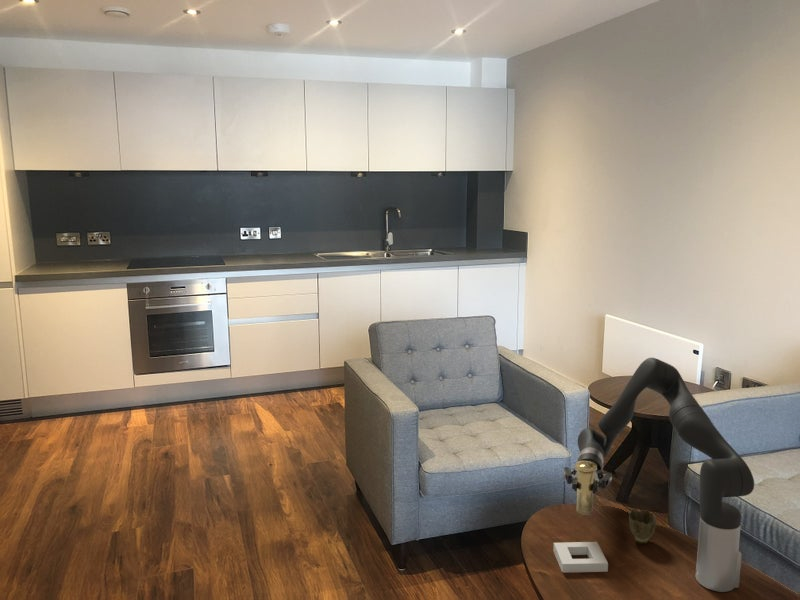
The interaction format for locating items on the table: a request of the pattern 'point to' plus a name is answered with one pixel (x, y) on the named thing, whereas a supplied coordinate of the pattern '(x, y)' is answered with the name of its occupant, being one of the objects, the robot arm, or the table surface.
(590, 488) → the gold flanged cylinder
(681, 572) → the table surface
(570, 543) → the frame
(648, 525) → the cup
